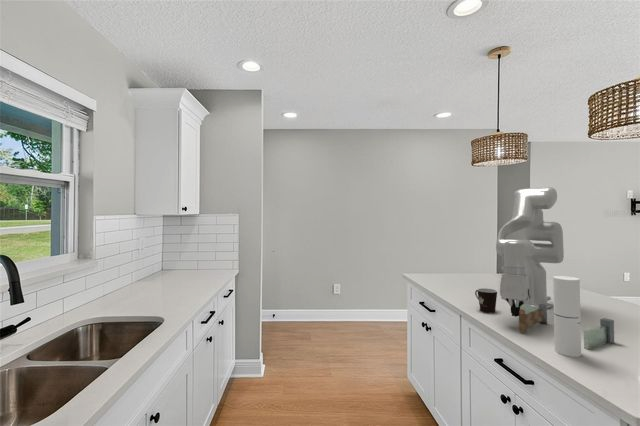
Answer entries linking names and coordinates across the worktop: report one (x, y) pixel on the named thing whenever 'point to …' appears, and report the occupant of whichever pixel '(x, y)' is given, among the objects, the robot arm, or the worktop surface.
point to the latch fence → (599, 334)
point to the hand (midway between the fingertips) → (515, 315)
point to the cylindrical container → (567, 315)
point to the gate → (529, 319)
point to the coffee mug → (487, 299)
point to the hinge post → (531, 309)
